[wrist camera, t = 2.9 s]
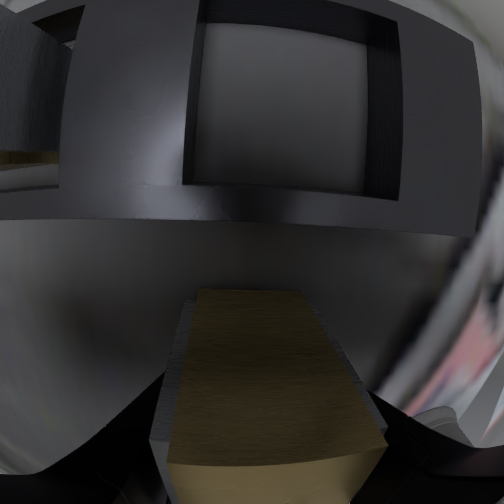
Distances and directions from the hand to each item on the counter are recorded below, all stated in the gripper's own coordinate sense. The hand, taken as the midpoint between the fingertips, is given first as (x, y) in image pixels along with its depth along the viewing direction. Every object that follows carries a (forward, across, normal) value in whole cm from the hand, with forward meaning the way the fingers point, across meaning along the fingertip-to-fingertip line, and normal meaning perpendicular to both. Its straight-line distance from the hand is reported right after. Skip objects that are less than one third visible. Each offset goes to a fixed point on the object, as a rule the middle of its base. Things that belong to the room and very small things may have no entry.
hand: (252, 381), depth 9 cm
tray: (+3, +3, -9) cm, 10 cm away
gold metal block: (+2, 0, 0) cm, 2 cm away
